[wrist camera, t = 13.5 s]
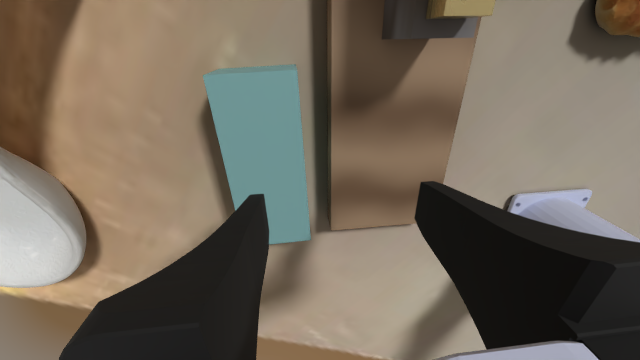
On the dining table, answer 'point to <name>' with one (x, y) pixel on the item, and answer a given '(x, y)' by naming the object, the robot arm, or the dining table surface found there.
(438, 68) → the base
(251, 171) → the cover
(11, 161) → the spoon rest
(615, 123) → the dining table surface
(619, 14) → the pastry
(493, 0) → the tan rectangular bar
